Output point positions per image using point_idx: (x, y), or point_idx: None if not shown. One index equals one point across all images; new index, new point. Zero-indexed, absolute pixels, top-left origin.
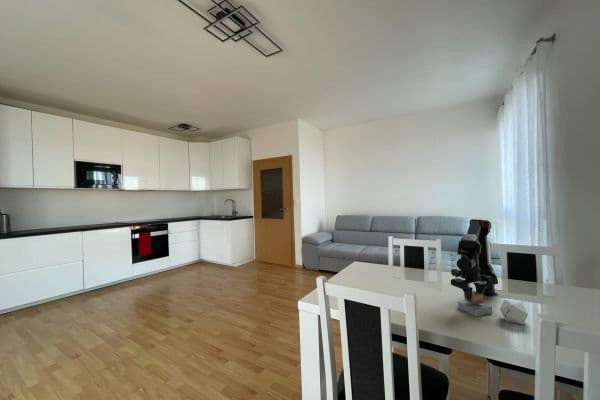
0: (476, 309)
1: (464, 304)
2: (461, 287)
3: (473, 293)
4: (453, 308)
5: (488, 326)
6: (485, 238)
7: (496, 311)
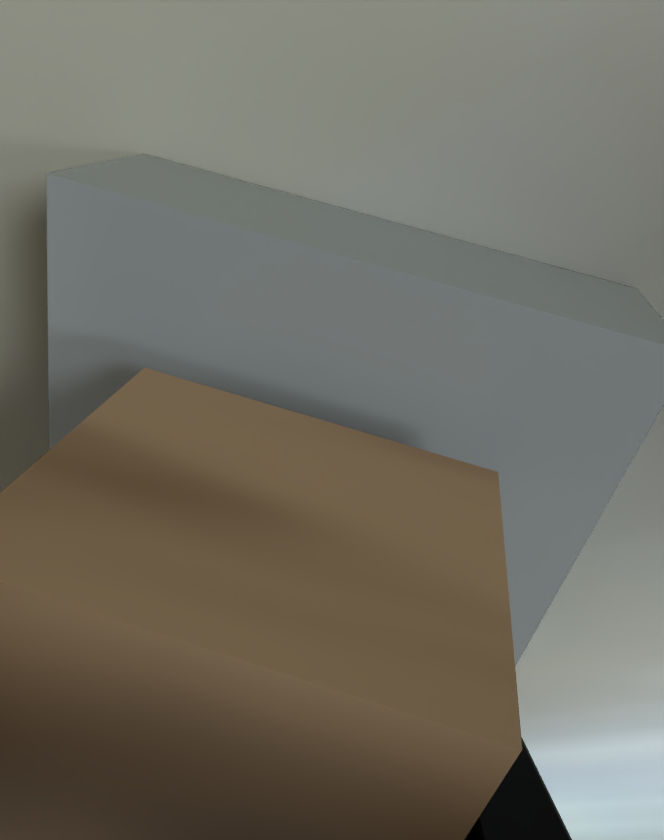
0: None
1: (63, 394)
2: None
3: (163, 823)
4: (18, 107)
5: None
6: None
7: (614, 653)
